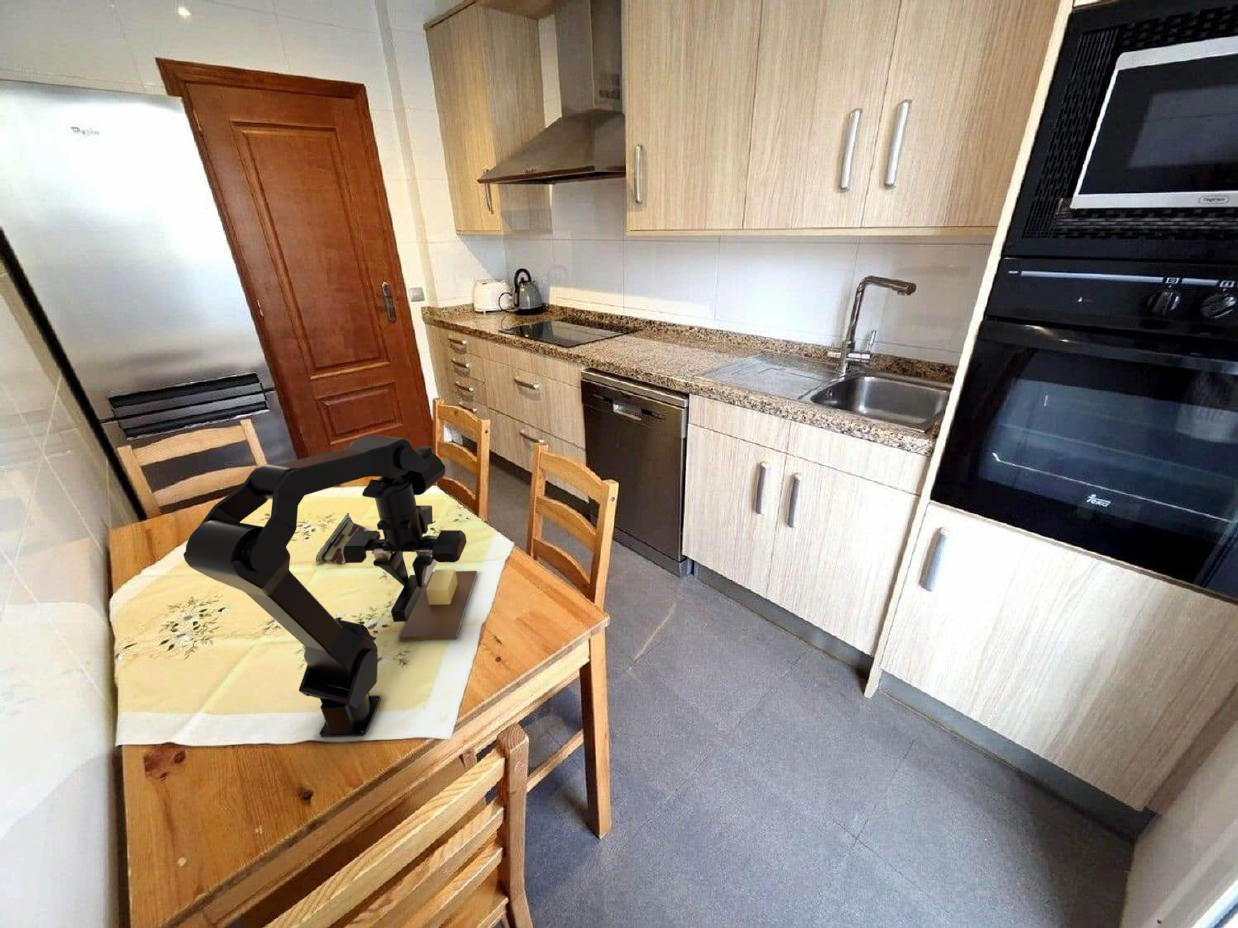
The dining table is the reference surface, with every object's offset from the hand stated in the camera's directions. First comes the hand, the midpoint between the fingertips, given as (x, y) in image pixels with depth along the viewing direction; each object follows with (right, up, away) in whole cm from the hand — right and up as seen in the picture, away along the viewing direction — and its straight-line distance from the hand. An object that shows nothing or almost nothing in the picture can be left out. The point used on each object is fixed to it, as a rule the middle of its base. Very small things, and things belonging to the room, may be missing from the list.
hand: (414, 585), depth 88 cm
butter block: (+1, -4, +11) cm, 12 cm away
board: (+1, -6, +10) cm, 12 cm away
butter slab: (+1, -2, +10) cm, 10 cm away
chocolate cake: (-25, +1, +25) cm, 35 cm away
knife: (0, 0, +3) cm, 3 cm away
